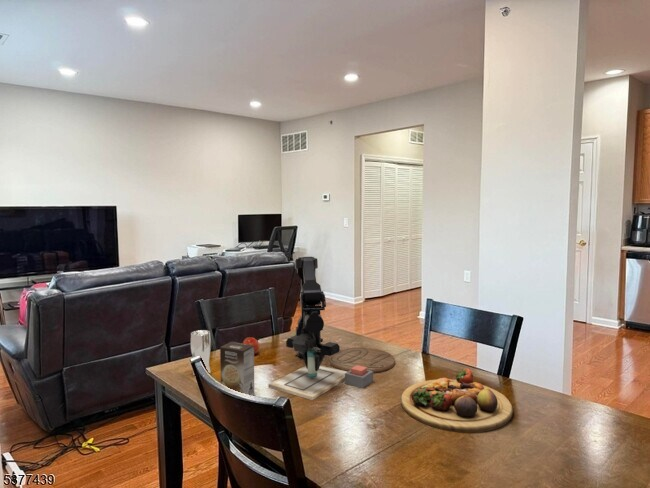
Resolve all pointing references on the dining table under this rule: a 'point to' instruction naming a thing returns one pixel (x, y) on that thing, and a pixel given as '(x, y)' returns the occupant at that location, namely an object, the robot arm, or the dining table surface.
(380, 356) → the trivet
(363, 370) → the button
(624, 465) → the dining table surface
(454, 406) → the wooden plate with food
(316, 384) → the board
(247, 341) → the pomegranate
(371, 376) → the button housing
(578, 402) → the dining table surface
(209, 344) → the beer glass
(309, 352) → the teal-banded white cylinder
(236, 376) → the coffee box
